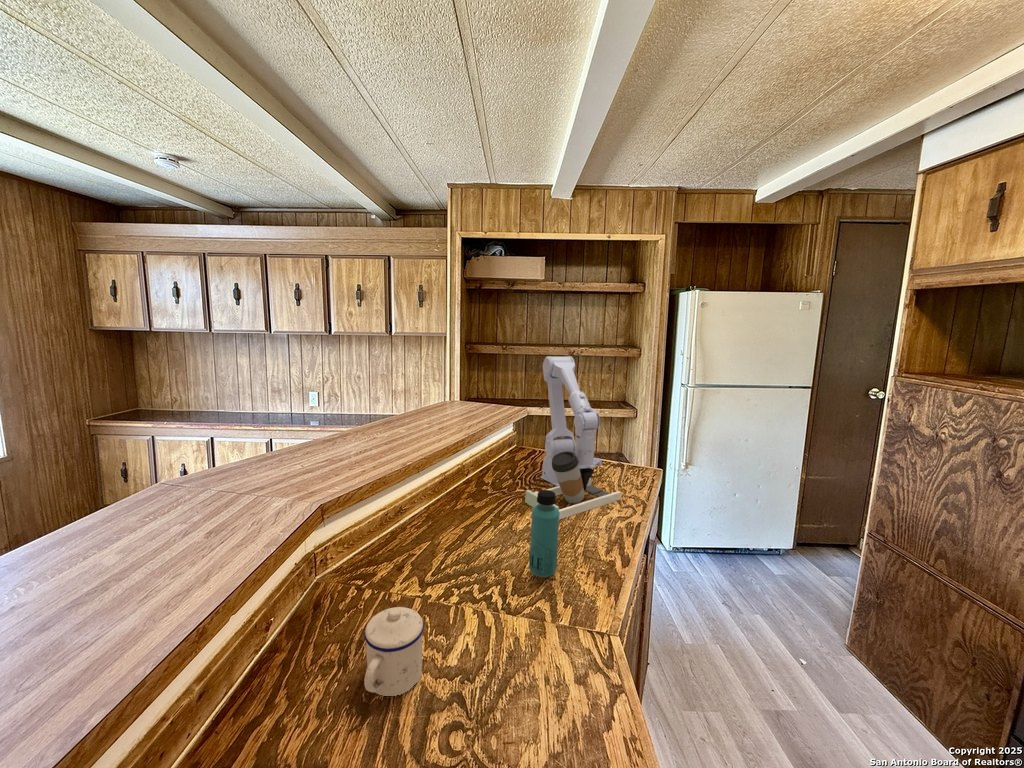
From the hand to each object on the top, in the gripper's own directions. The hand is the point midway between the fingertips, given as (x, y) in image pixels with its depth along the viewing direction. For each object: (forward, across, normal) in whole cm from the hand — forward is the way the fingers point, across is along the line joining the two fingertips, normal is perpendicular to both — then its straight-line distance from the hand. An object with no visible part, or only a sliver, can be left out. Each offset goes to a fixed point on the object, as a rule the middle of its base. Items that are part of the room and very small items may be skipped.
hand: (582, 490), depth 141 cm
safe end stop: (+3, -17, 0) cm, 17 cm away
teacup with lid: (+4, -76, -33) cm, 83 cm away
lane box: (+3, -3, 0) cm, 4 cm away
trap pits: (+3, +8, 0) cm, 9 cm away
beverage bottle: (+3, -37, -24) cm, 45 cm away
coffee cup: (+2, -3, 0) cm, 3 cm away
